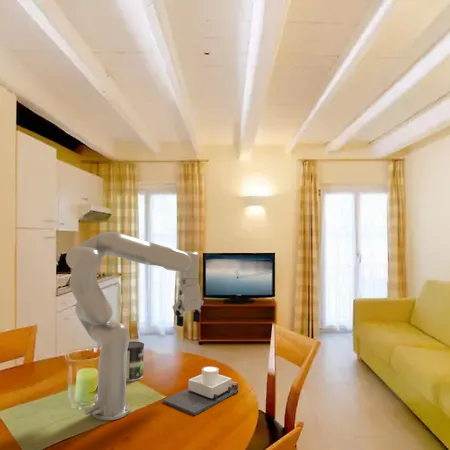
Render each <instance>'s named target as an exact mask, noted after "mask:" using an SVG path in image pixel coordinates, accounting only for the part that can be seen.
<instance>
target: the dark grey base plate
mask: <svg viewBox="0 0 450 450" xmlns="http://www.w3.org/2000/svg"><path fill="white" fill-rule="evenodd" d="M239 389H240V388H239V382H236V381H233V380H232V389H231V391H229V390H228V391H226V392H224V393H222V394H220V395H218V396H217V398H209V397H206V396H203V395H201V394H198V393H195V392H193V391H190V390H188V388H186V389H183V390H182V391H178V392H177V393H175V394H173V395H170V396H169V397H165V398H163V399H162V402H163V404H166V405H168V406H171V407H173V408H176V409H178V410H180V411H183V412H185V413H187V414H189V415H192V416H197V415H199V414H201V413H202V412H205V411H206V410H207V409H210V408H212V407H213V406H215V405H216V404H219V403H220V401H221V402H222V400H223V401H224V400H227V399H228V398H230V397H232V396H233V395H232V394H234V393H235V394H237V393H238V392H239ZM237 391H238V392H237ZM236 392H237V393H236ZM235 394H234V395H235ZM231 395H232V396H231ZM229 396H230V397H229ZM227 397H228V398H227ZM218 402H219V403H218ZM200 412H201V413H200ZM198 413H199V414H198ZM196 414H197V415H196Z"/></svg>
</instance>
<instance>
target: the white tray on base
mask: <svg viewBox="0 0 450 450" xmlns="http://www.w3.org/2000/svg"><path fill="white" fill-rule="evenodd" d="M232 381H233V379H232V378H231V377H228V376H226V375H222V374H219V373H218V382H217V385H215V386H213V387H210V386H208V385H205V384H203V380H202V373H201V374H199V375H197V376H194V377H192V378H191V377H190V378H189V379H188V388H187V389H188V390H190V391H193V392H195V393H198V394H201V395H203V396H206V397H209V398H217V396H218V395H220V394H222V393H224V392H226V391H228V390H229V391H231V389H232Z"/></svg>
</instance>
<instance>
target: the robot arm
mask: <svg viewBox="0 0 450 450" xmlns="http://www.w3.org/2000/svg"><path fill="white" fill-rule="evenodd" d="M107 255H108V256H113V257H117V258H120V259H124V260H128V261H132V262H134V263H135V262H136V263H137V264H141V265H142V264H144V265H148V266H157V267H161V268H164V269H165V270H168V271H174V272H178V273H179V274H180V275H179V281H178V282H179V286H178V292H177V301H176V302H175V304H173V305H172V310H173V313H174V314H175V316H176V326H178V327H184V316H183V315H184V314H185V312H191V311H193V312H192V321H193V322H195V323H200V317H201V312H202V309H203V306H204V305H203V304H204V302H205V301H204V300H203V299H202V294H201V293H202V292H201V287H200V284H199V272H200V271H199V267H200V266H199V264H200V259H199V258H200V255H199V253H198V252H196V251H181V250H178V249H175V248H171V247H167V246H164V245H160V244H157V243H155V242H151V241H147V240H145V239H141V238H138V237H135V236H131V235H129V234H126V233H121V232H117V231H104V232H101V233H99V234H96V235H95V236H93V237H91V238H89V239H87V240H85V241H81V243H79V244H76V245H75V246H73V247H71V248H70V249H69V250H68V252H67V253H66V256H65V261H66V265H68V267H69V268H71V269H72V270H71V273H70V277H69V286H70V291H71V293H72V295H73V297H74V298H75V300H76V304H75V313H76V316H77V318H78V320H79V322H80V323H81V325H82V326H83V328H84V330H85V331H86V332H87V335H88V336H89V337H90V338H91V339H92V341H93V342H95V343H96V344H98V345H100V346H101V349H100V352H99V357H98V367H97V369H98V371H97V373H98V374H97V400H96V401H94V405H92V406H91V407H88V408H86V409H84V410H83V412H84V415H85V416H88V415H91V414H92V416H93V418H95V419H97V420H100V421H113V420H114V421H115V420H118V419H119V420H120V419H122V418H123V417H125V416H127V415H128V414H129V413H130V411H131V406H130V405H129V403H128V402H127V401H126V399H127V381H126V363H127V350H128V345H129V342H130V339H131V338H130V335H131V334H130V331H129V329H128V328H127V326H126V325H125V324H124V323H121V322H119V321H117V320H114V319H112V317H113V307H112V305H111V303H110V301H109V300H108V299H107V297H106V294H104V292H103V290H102V288H101V286H100V284H99V282H98V279H97V276H98V272H99V269H100V267H101V264H102V258H103V257H106V256H107Z"/></svg>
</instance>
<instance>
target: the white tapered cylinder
mask: <svg viewBox="0 0 450 450" xmlns="http://www.w3.org/2000/svg"><path fill="white" fill-rule="evenodd" d="M219 370H220V368H219V367H216V366H212V365H210V366H203V367H201V374H202V380H203V384H205V385H208V386H210V387H213V386H215V385H217V382H218V374H219V372H220V371H219Z"/></svg>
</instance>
